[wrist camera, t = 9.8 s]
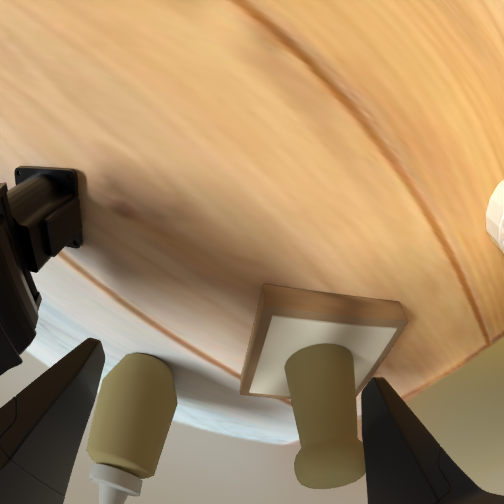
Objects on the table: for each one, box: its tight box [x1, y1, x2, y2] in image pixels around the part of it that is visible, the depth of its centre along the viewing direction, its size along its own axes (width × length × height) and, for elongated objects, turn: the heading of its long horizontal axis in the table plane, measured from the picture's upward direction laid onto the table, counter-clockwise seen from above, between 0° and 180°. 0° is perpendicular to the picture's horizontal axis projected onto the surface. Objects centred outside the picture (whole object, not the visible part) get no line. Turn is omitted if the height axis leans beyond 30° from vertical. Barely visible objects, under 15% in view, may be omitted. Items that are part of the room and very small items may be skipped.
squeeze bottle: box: [86, 353, 177, 504], centre depth 22 cm, size 8×8×18 cm
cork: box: [284, 343, 366, 489], centre depth 20 cm, size 6×6×11 cm
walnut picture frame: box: [240, 284, 408, 399], centre depth 26 cm, size 12×12×3 cm
